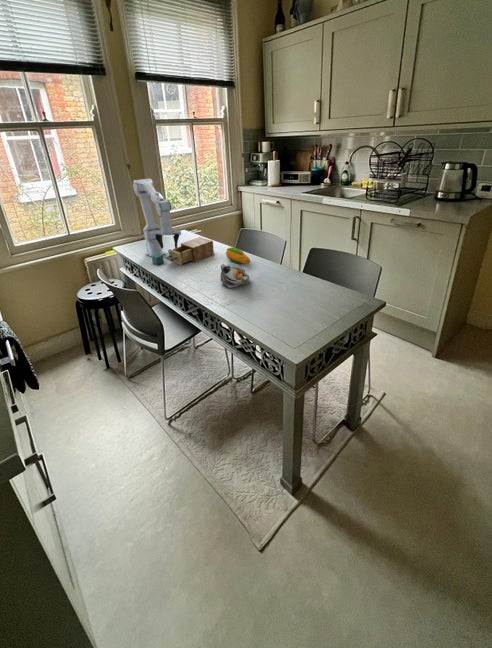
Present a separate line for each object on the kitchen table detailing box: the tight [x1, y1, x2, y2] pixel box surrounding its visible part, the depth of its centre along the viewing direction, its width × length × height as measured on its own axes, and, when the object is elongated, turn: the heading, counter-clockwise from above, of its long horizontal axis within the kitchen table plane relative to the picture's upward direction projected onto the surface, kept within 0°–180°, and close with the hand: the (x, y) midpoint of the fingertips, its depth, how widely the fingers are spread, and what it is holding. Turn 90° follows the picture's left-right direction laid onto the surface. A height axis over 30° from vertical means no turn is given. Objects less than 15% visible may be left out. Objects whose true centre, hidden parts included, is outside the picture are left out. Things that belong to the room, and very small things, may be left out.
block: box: [151, 254, 165, 266], centre depth 177 cm, size 4×4×4 cm
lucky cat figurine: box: [220, 263, 250, 289], centre depth 146 cm, size 15×12×14 cm
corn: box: [225, 246, 251, 265], centre depth 173 cm, size 7×8×20 cm
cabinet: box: [180, 236, 215, 263], centre depth 184 cm, size 15×12×9 cm
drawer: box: [164, 245, 194, 266], centre depth 176 cm, size 18×10×7 cm, turn 136°
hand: (169, 247), depth 172 cm, fingers open, 7 cm apart
